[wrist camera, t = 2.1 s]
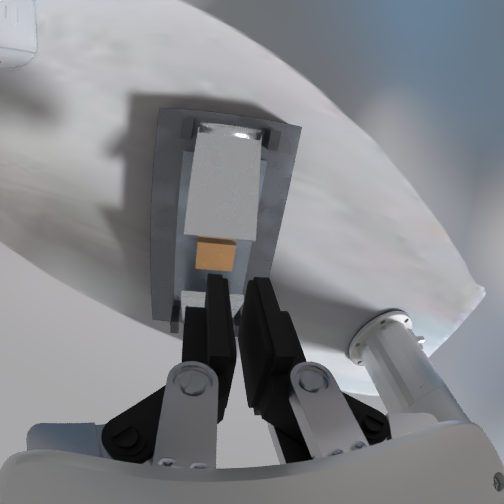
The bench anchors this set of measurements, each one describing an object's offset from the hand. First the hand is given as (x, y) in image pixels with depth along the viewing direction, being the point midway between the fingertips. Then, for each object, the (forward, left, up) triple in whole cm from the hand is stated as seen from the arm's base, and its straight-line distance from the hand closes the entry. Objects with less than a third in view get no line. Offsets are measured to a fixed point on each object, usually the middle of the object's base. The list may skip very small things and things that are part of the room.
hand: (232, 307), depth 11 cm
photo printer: (+26, -18, -19) cm, 37 cm away
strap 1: (0, -2, -12) cm, 12 cm away
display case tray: (0, +4, -19) cm, 20 cm away
